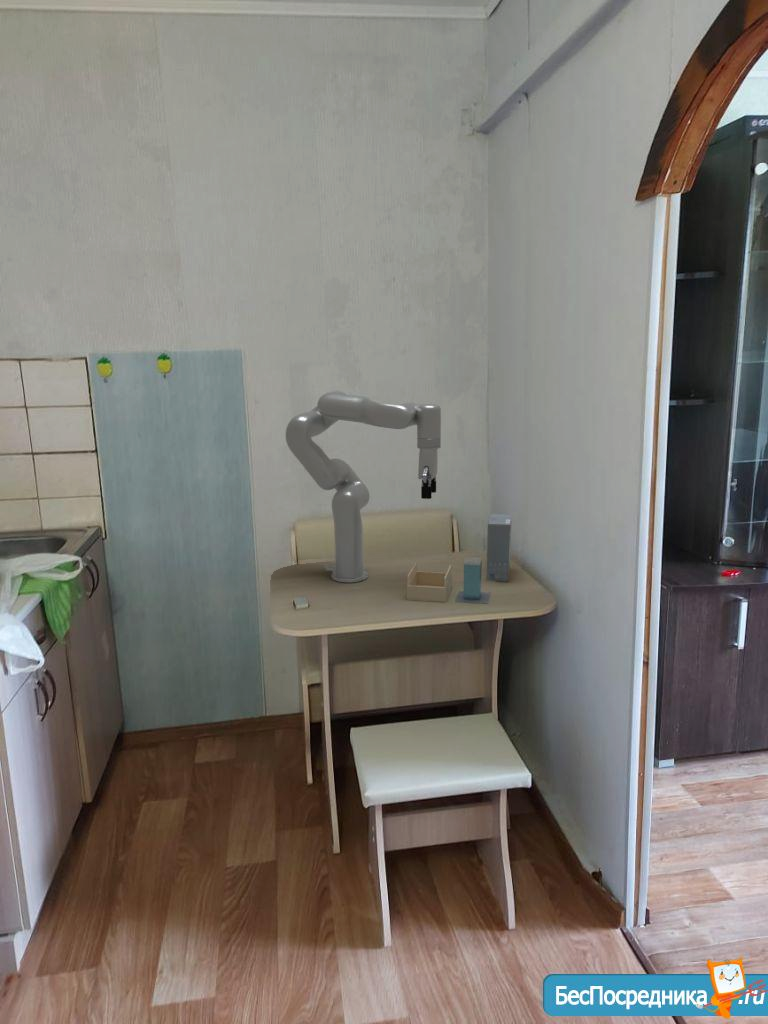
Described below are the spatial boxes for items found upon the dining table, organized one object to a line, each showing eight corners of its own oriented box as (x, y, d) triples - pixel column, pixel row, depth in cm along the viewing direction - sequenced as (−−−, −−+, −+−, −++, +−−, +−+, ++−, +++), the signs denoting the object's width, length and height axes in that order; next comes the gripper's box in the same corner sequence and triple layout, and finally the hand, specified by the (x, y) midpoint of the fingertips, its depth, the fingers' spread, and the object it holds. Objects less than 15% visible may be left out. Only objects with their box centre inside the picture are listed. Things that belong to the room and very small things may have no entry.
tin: (463, 599, 236) (463, 561, 233) (465, 593, 241) (465, 557, 238) (479, 600, 235) (480, 562, 232) (481, 594, 240) (482, 557, 237)
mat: (454, 603, 234) (455, 601, 234) (459, 592, 243) (459, 591, 243) (487, 605, 232) (487, 603, 232) (490, 594, 241) (490, 592, 241)
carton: (406, 600, 237) (406, 576, 235) (415, 585, 251) (415, 562, 249) (445, 603, 234) (445, 578, 232) (452, 587, 248) (452, 564, 247)
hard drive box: (508, 582, 253) (510, 524, 248) (485, 581, 254) (486, 524, 250) (510, 568, 268) (511, 514, 263) (488, 567, 269) (489, 513, 265)
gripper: (421, 439, 251) (422, 489, 254) (412, 446, 234) (412, 500, 238) (444, 439, 249) (444, 490, 253) (436, 447, 233) (436, 501, 236)
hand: (428, 495), depth 245 cm, fingers open, 9 cm apart
